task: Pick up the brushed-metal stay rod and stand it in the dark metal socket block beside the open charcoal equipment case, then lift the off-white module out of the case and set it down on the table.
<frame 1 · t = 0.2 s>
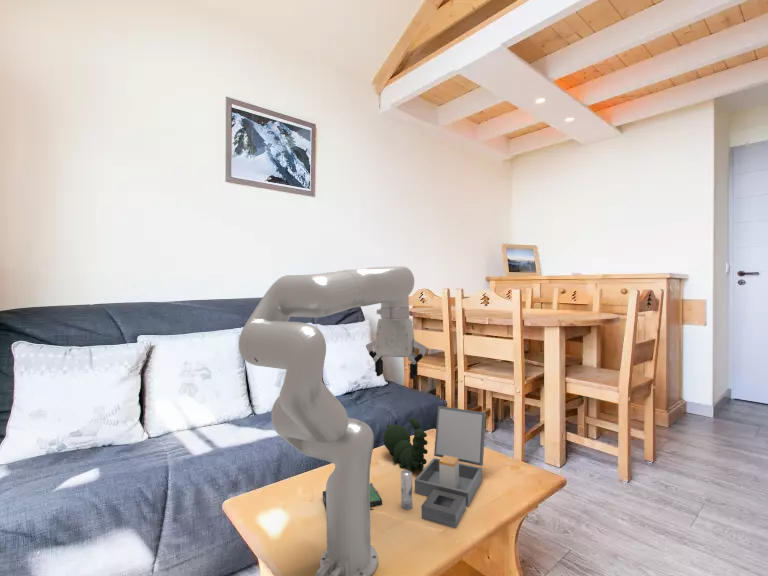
hand: (396, 376, 106), 36 cm above the table, tool pointing down, fingers open, 9 cm apart
disk drive: (351, 505, 108), on the table
case: (449, 489, 115), on the table
module: (449, 486, 115), point 1 cm above the table, touching case
stay rod: (406, 509, 105), on the table
lid: (459, 434, 124), point 12 cm above the table, hinge at 106.0°
socket block: (444, 516, 101), on the table
toy figurine: (403, 463, 131), on the table
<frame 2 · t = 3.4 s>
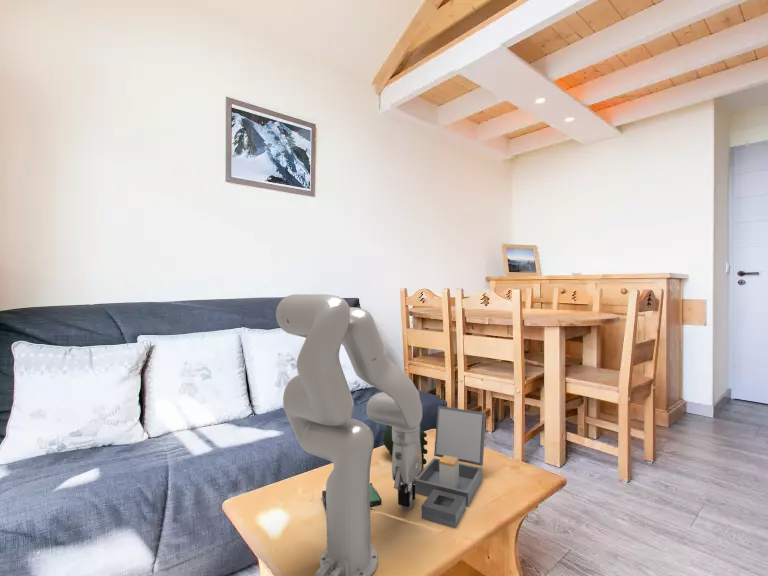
hand: (406, 501, 105), 2 cm above the table, tool pointing down, fingers closed on stay rod, 3 cm apart
stay rod: (406, 509, 105), on the table, touching gripper
everything else where it was.
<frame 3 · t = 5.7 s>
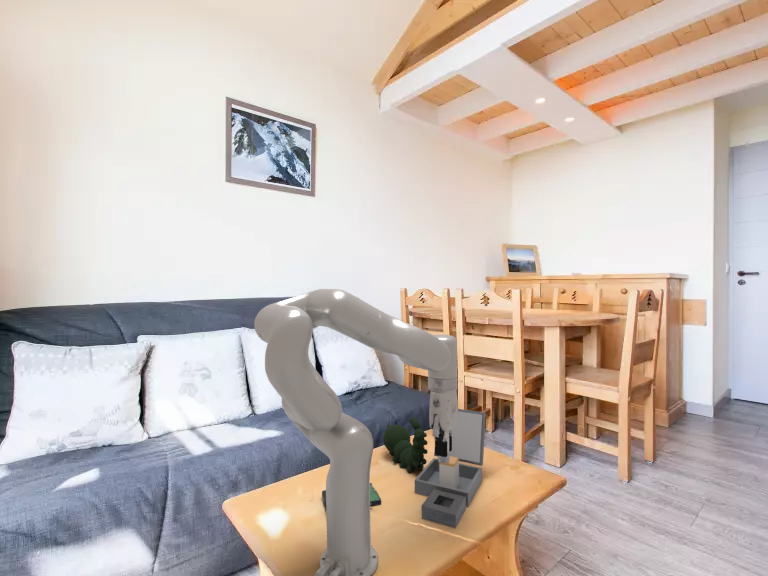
hand: (443, 452, 101), 17 cm above the table, tool pointing down, fingers closed on stay rod, 3 cm apart
stay rod: (443, 460, 101), point 15 cm above the table, touching gripper
everything else where it was.
when the fingers open (5 cm above the table, at t = 8.1 s): stay rod drops 2 cm, resting in socket block.
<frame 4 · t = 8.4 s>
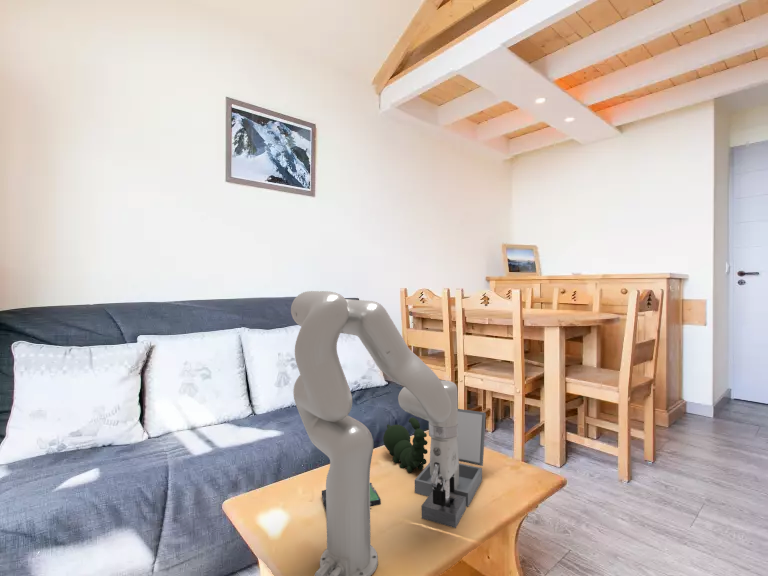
hand: (443, 496, 101), 5 cm above the table, tool pointing down, fingers open, 6 cm apart
stay rod: (444, 516, 101), resting in socket block
everything else where it was.
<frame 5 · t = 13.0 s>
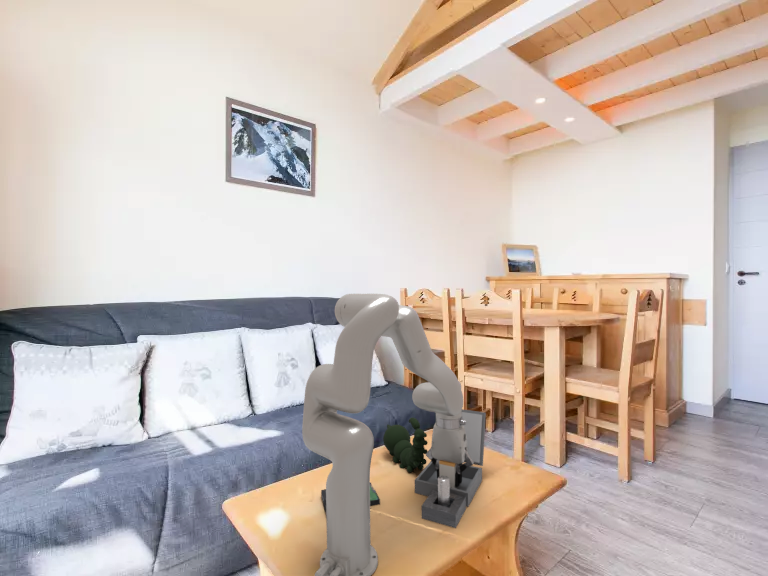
hand: (449, 482, 115), 2 cm above the table, tool pointing down, fingers closed on module, 4 cm apart
module: (449, 486, 115), point 1 cm above the table, touching case, gripper
everything else where it was.
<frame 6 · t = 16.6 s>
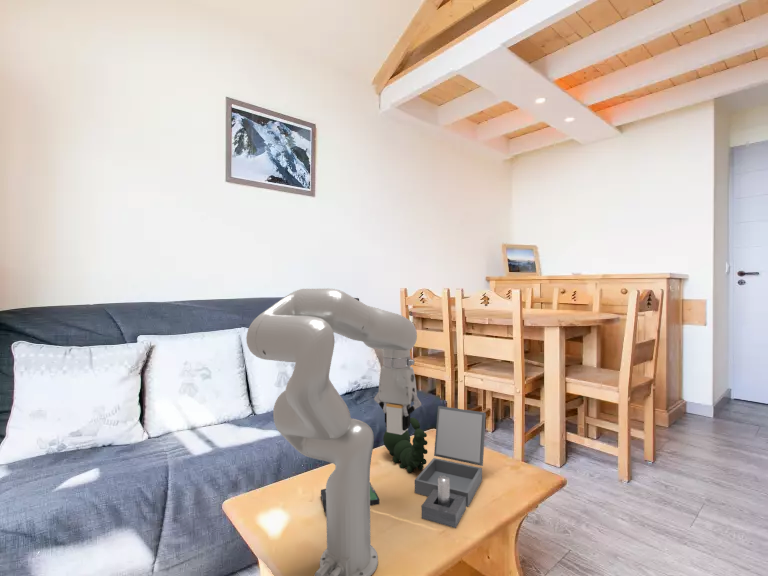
hand: (397, 426, 109), 21 cm above the table, tool pointing down, fingers closed on module, 4 cm apart
module: (397, 430, 109), point 20 cm above the table, touching gripper
when the fingers open (3 cm above the table, at t = 20.2 s): module drops 2 cm, on the table.
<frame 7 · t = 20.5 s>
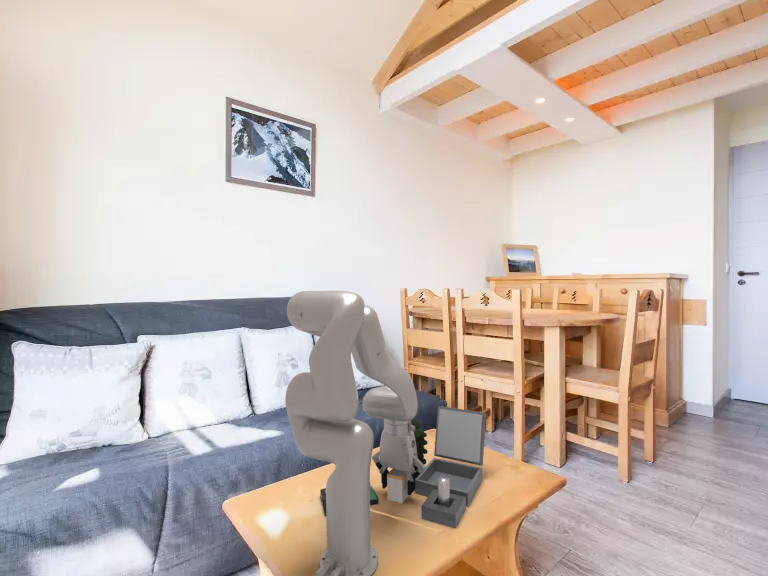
hand: (398, 489, 109), 3 cm above the table, tool pointing down, fingers open, 7 cm apart
module: (398, 500, 109), on the table
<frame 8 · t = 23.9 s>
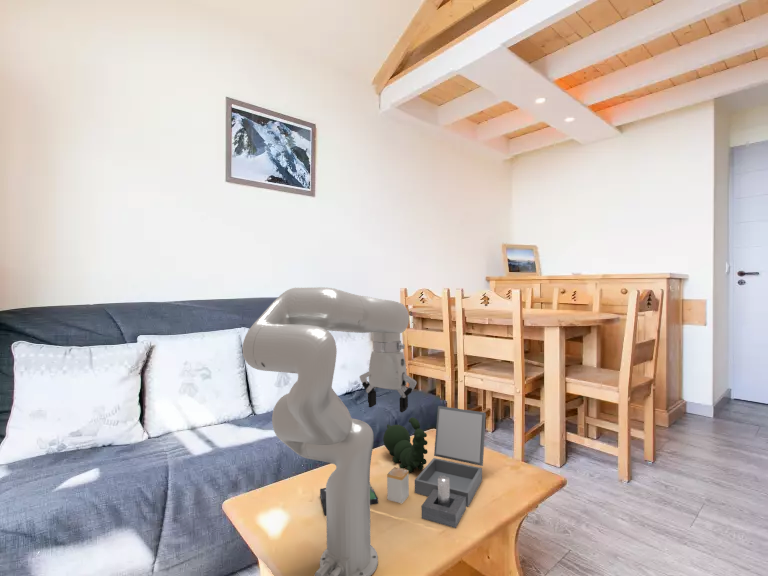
hand: (387, 408, 108), 26 cm above the table, tool pointing down, fingers open, 9 cm apart
at the end: stay rod 0.0 cm off-centre on the socket block, point 0.0 cm above the socket block's base; module inside the target area (0.0 cm from its centre), on the table; module tilted 0° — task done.
